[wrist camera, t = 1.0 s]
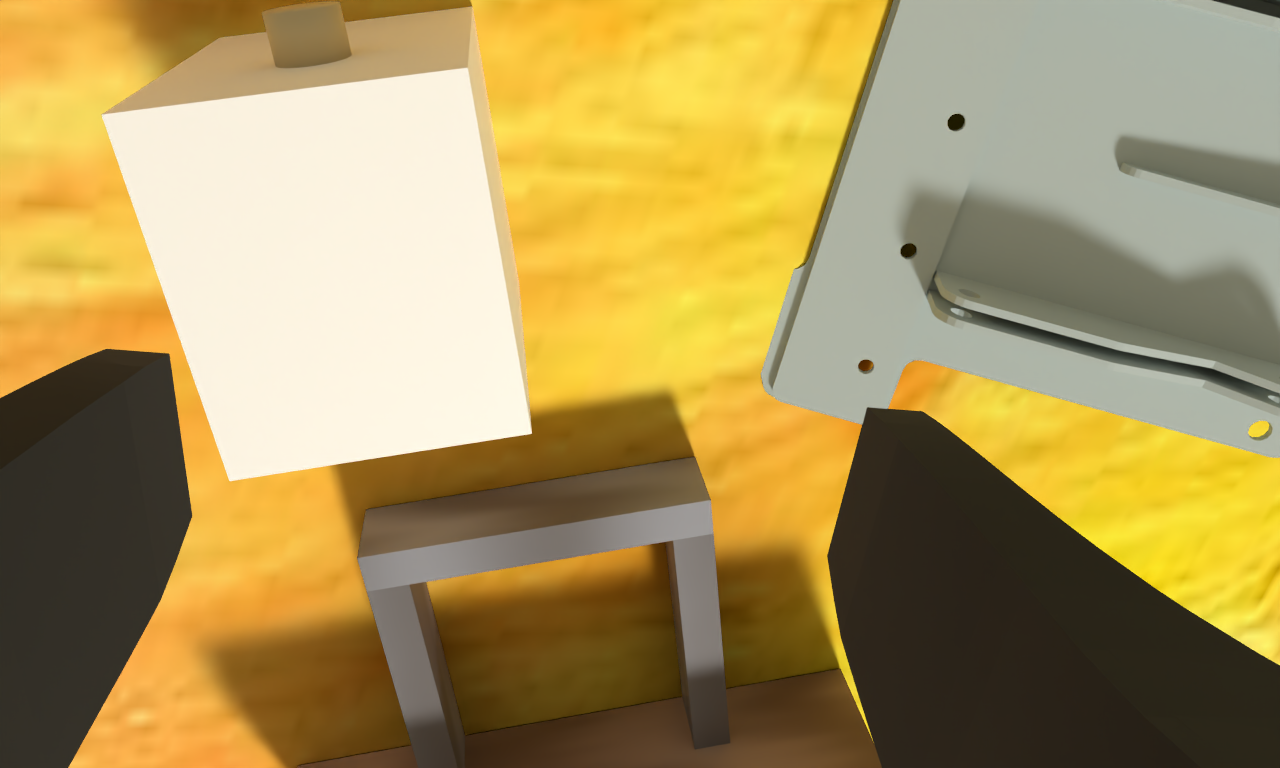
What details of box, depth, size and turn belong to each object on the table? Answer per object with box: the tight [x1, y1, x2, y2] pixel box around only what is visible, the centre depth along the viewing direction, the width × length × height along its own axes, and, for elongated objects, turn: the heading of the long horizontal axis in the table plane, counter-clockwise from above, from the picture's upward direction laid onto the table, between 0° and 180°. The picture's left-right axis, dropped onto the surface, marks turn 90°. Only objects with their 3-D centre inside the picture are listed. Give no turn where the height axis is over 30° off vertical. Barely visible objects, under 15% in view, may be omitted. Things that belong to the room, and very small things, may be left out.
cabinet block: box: [102, 1, 532, 481], centre depth 18 cm, size 5×7×7 cm
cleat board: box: [297, 457, 882, 768], centre depth 26 cm, size 16×10×5 cm, turn 96°
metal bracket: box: [761, 0, 1280, 458], centre depth 23 cm, size 14×6×15 cm
